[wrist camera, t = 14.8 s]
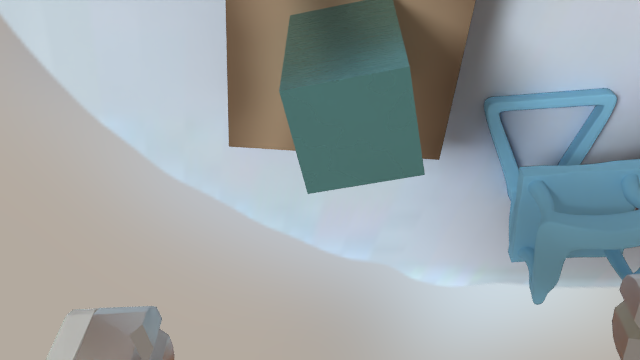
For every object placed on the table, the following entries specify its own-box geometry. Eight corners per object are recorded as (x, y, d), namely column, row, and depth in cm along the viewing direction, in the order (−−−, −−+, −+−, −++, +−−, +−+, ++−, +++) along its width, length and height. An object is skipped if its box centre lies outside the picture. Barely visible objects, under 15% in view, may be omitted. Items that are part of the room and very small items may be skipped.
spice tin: (391, -6, 29) (409, 66, 22) (404, 87, 32) (424, 174, 25) (289, 15, 30) (278, 91, 23) (312, 104, 32) (307, 194, 26)
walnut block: (468, -85, 32) (488, -57, 28) (427, 115, 39) (439, 159, 35) (237, -102, 31) (223, -77, 27) (239, 102, 38) (228, 146, 34)
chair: (475, 200, 42) (519, 340, 33) (484, 96, 37) (538, 225, 28) (588, 193, 42) (665, 332, 32) (612, 86, 37) (712, 215, 27)
